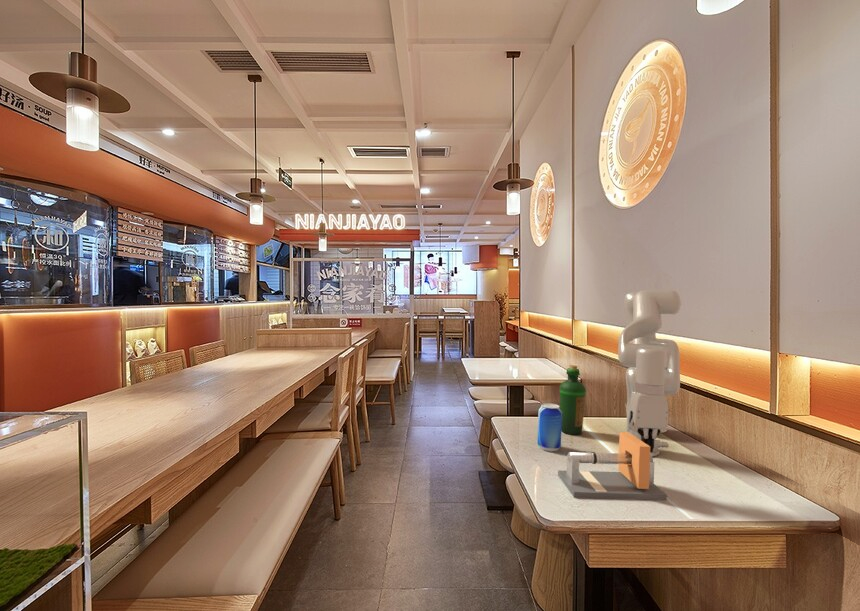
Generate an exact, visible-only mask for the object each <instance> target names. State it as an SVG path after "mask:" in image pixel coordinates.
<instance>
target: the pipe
mask: <svg viewBox="0 0 860 611" xmlns="http://www.w3.org/2000/svg"><path fill="white" fill-rule="evenodd" d="M580 464H592V465H597V464H602V465H603V464H604V465H605V464H608V465H618V464H632V454H625V453H619V452H617V453H616V452H615V453H612V452H595V451H590V452H582V451H581V452H577V451H569V452H568V453H567V455H566V471H567V479H568V480H569V481H570V483H571V484H578V483H579V471H580ZM654 484H655V462H654V458H653V456H651V455H650V473H649V486H654Z"/></svg>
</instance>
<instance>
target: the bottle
mask: <svg viewBox="0 0 860 611" xmlns="http://www.w3.org/2000/svg"><path fill="white" fill-rule="evenodd" d="M565 374H566V375H567V380H564V381H562V382H561V384H560V385H559V408H560V410H561V412H562V427H561V433H564V434H567V435H573V436H578V435H580V434H582V433H583V425H584V415H585V404H586V394H587V393H586V392H587V389H586V387H585V385H584V383H582V382H581V381H579V376H581V373H580V369H579V368H578V365H574V364H573V365H572V364H571V365H568V368H567V369H566V373H565Z"/></svg>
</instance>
